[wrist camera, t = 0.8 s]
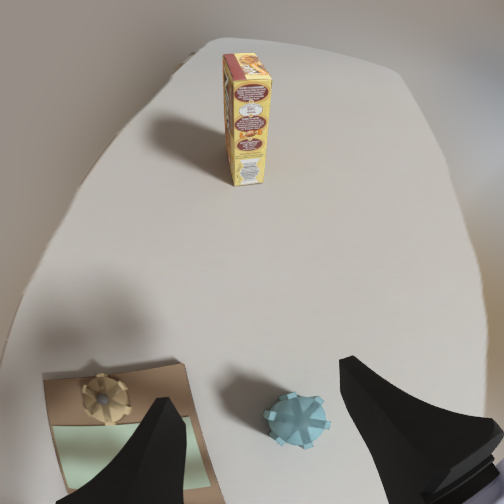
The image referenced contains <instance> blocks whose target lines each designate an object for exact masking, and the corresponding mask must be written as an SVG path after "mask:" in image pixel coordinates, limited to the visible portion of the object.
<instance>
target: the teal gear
mask: <svg viewBox="0 0 504 504" xmlns="http://www.w3.org/2000/svg"><path fill="white" fill-rule="evenodd" d="M279 400H280V401H278V402H277V403H275V404H274V405H273V406H272V408H271V409H270V411H267V410H265V411H264V415H263V417H264V418H266V419H268V425H269V428H270V429H271V432H270V433H269V435H270V436H271V437H272V438H273V439H274V440H275V441H276V442H277V443H279V444H280V445H281V446H282V445H283V444H284V443H285V442H286V443H289V444H292V445H298V446H300V447H301V448H303V449H308V448H311V447H314V446H313V443H312V442H313V441H314V440H316V439H317V438H318V437H319V436H320V435H321V433H322V432H323V430H324V429H328V430H329V428H330V424H331V421H326V415H325V411H324V409H323V407H322V406H321V405H322V404H323V402H324V400H323V399H321V398H320V397H319V396H314V397H297V394H296V392H293V393H289V394H285V395H282V396H279Z"/></svg>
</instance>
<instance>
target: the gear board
mask: <svg viewBox="0 0 504 504" xmlns="http://www.w3.org/2000/svg"><path fill="white" fill-rule="evenodd" d="M96 375H97V376H92V377H82V378H70V379H57V380H43V381H44V390H45V398H46V405H47V412H48V418H49V423H50V429H51V434H52V438H53V443H54V447H55V451H56V455H57V459H58V463H59V466H60V470H61V473H62V476H63V480H64V483H65V486H66V489H67V492H68V494H71V493H73V492H74V491H76V490H77V489H79V488H80V487H82V486H83V485H85V484H86V483H87V482H89V481H90V480H91V479H92V478H94V477H95V476H96V475H97V474H98V473H99V472H100V471H101V470H103V469H104V468H105V467H106V466H107V465H108V464H109V463H110V462H111V461H112V459H113V458H114V457H115V456H116V455H117V454H118V453H119V451H120V450H121V449H122V448H123V446H124V445H125V444H126V442H127V441H128V440H129V438H130V437H131V436H132V434H133V433H134V431H135V430H136V428H137V427H138V425H139V424H140V422H141V421H142V419H143V418H144V416H145V414H146V413H147V411H148V410H149V408H150V407H151V405H152V404H153V402H154V401H155V399H156V398H161V397H169V398H170V399H171V401H172V403H173V404H174V406H175V408H176V409H177V411H178V413H179V414H180V416H181V417H182V419H183V421H184V422H185V424H186V432H187V450H186V462H185V473H184V484H183V497H184V504H226V503H225V501H224V498H223V495H222V493H221V490H220V487H219V484H218V481H217V478H216V476H215V473H214V470H213V467H212V463H211V460H210V457H209V454H208V451H207V448H206V444H205V441H204V438H203V434H202V431H201V427H200V424H199V420H198V417H197V413H196V409H195V405H194V401H193V398H192V394H191V390H190V385H189V381H188V377H187V373H186V368H185V365H184V364H183V363H180V364H174V365H169V366H163V367H157V368H151V369H145V370H139V371H132V372H125V373H118V374H110V375H107V374H104V373H101V374H96Z"/></svg>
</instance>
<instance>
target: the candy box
mask: <svg viewBox="0 0 504 504" xmlns="http://www.w3.org/2000/svg"><path fill="white" fill-rule="evenodd" d="M271 88H272V78H271V76H270V74H269V73H268V72H267V70H266V69H265V68H264V66H263V64H262V63H261V62H260V60H259V59H258V57H257V56H256V55H255V53H237V54H224V55H223V90H224V119H225V141H226V151H227V156H228V161H229V165H230V170H231V174H232V179H233V183H234V186H240V185H248V184H256V183H263V180H264V168H265V158H266V146H267V135H268V123H269V111H270V99H271Z"/></svg>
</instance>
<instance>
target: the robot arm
mask: <svg viewBox="0 0 504 504" xmlns="http://www.w3.org/2000/svg"><path fill="white" fill-rule="evenodd" d="M339 369H340V392H341V395H342V398H343V400H344V403H345V405H346V408H347V410H348V412H349V414H350V416H351V418H352V420H353V422H354V423H355V425H356V427H357V429H358V431H359V432H360V434H361V436H362V438H363V440H364V441H365V443H366V445H367V447H368V449H369V451H370V453H371V455H372V457H373V460H374V463H375V465H376V468H377V470H378V473H379V476H380V478H381V481H382V484H383V487H384V490H385V493H386V496H387V499H388V502H389V504H504V458H503V459H502V460H501V461H500V462H499V463H498V464H497V465H496V466H495V465H494V464H493V463H492V462H493V461H494V457H493V455H492V454H491V453H492V452H493V451H494V450H495V448H496V447H497V446H498V444H499V443H500V442H501V440H502V439H503V437H504V432H503V430H502V429H501V428H500V427H499V425H498V424H497V423H496V422H495V421H494V420H493V419H492V418H483V417H475V416H468V415H464V414H459V413H455V412H452V411H448V410H445V409H442V408H439V407H436V406H433V405H431V404H428V403H426V402H424V401H422V400H419V399H417V398H415V397H413V396H411V395H409V394H408V393H406V392H404V391H402V390H401V389H399V388H397V387H396V386H394V385H393V384H391V383H389V382H388V381H387V380H385V379H384V378H382V377H381V376H379V375H378V374H376V373H375V372H374V371H372V370H371V369H370V368H369V367H367V366H366V365H365V364H363V363H362V362H361V361H360V360H358V359H357V358H356V357H355V356H353V355H352V356H350V357H347V358H344V359H340V360H339ZM186 450H187V432H186V424H185V422H184V421H183V419H182V417H181V416H180V414H179V413H178V411H177V409H176V408H175V406H174V404H173V403H172V401H171V399H170V398H169V397H161V398H156V399H155V401H154V402H153V404H152V405H151V407H150V408H149V410H148V411H147V413H146V414H145V416H144V418H143V419H142V421H141V422H140V424H139V425H138V427H137V428H136V430H135V431H134V433H133V434H132V436H131V437H130V438H129V440H128V441H127V442H126V444H125V445H124V446H123V448H122V449H121V450H120V451H119V453H118V454H117V455H116V456H115V457H114V458H113V459H112V461H111V462H110V463H109V464H108V465H107V466H106V467H105V468H104V469H103V470H101V471H100V472H99V473H98V474H97V475H96V476H95V477H94V478H92V479H91V480H90V481H89V482H87V483H86V484H85V485H83V486H82V487H80V488H79V489H77V490H76V491H74V492H73V493H71V494H69V495H67V496H65V497H64V498H62V499H60V500H58V501H56V504H184V497H183V484H184V473H185V462H186Z"/></svg>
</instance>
